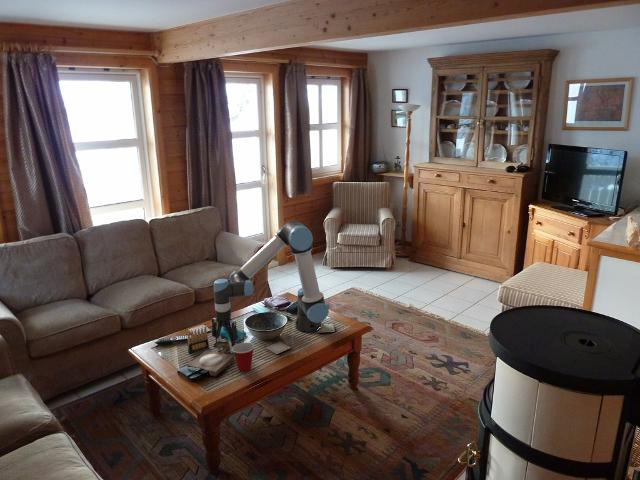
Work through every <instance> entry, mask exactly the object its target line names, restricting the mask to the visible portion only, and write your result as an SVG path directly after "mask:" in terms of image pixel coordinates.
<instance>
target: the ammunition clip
mask: <svg viewBox="0 0 640 480" xmlns="http://www.w3.org/2000/svg"><path fill="white" fill-rule="evenodd" d="M209 348H210V344H209V337H208V332H207V327H206V326H204V328H203V327H201V328H197V330H196V329H194V331H193V330H191V331H189V330H187V352H188V354H192V353H196V352H199V351H203V350H205V349H206V350H208V349H209Z"/></svg>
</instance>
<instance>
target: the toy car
mask: <svg viewBox="0 0 640 480" xmlns="http://www.w3.org/2000/svg"><path fill="white" fill-rule="evenodd" d="M231 329H232V326H231ZM237 333H238V339H237V340H236V341H235V343H239V341H241V340H242V339H245V337H246V336H247V332H246V331H244V330H240V329H238V328H237ZM219 337H221V338H227V342H228V341H229V342H230V341H231V340H230V337H229V335H228V332H227V330H226V329H225V327H222V329H221V332H220V336H219Z"/></svg>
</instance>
